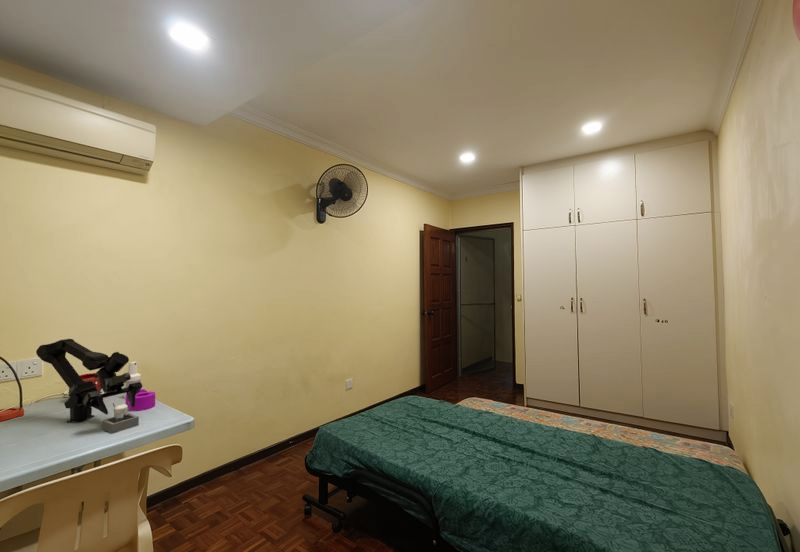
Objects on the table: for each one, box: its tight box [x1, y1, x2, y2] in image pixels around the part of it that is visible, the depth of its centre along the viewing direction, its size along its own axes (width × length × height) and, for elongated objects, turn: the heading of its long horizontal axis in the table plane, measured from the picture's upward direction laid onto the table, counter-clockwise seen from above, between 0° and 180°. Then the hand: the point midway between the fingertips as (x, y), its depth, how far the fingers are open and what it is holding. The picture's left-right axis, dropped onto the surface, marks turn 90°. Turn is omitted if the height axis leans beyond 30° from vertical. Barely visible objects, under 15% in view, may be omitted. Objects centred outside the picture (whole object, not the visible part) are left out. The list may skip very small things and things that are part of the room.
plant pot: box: [79, 372, 103, 393], centre depth 177 cm, size 13×13×12 cm
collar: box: [101, 412, 139, 435], centre depth 142 cm, size 9×9×4 cm
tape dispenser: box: [125, 388, 156, 412], centre depth 167 cm, size 16×10×6 cm, turn 50°
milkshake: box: [112, 402, 129, 423], centre depth 142 cm, size 4×5×10 cm
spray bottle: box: [123, 361, 142, 400], centre depth 181 cm, size 7×7×18 cm
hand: (120, 410), depth 142 cm, fingers open, 9 cm apart
